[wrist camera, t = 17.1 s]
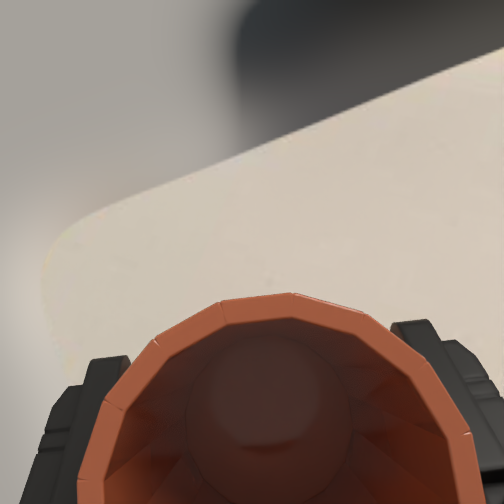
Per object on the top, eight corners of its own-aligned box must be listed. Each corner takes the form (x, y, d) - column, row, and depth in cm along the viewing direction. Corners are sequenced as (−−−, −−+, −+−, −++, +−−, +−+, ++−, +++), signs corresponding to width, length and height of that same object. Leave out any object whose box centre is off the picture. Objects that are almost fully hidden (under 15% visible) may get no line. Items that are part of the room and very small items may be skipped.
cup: (185, 529, 14) (85, 768, 6) (169, 336, 16) (68, 318, 7) (374, 505, 15) (529, 710, 6) (344, 315, 16) (441, 274, 7)
